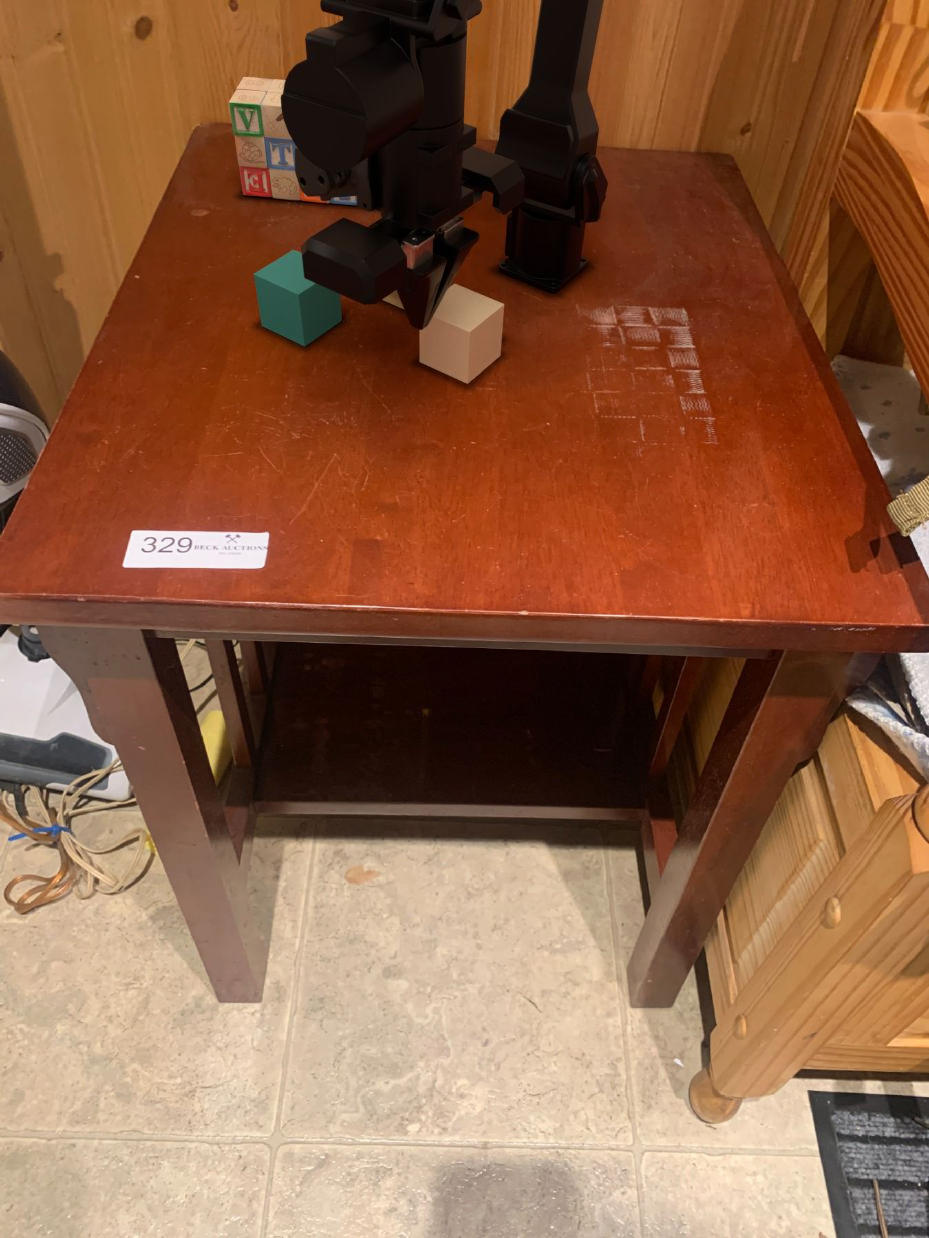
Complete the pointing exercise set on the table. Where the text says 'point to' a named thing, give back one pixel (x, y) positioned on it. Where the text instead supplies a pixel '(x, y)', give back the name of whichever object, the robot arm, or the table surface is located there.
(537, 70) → the robot arm
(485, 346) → the cream block
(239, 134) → the stack of blocks
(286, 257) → the teal block
